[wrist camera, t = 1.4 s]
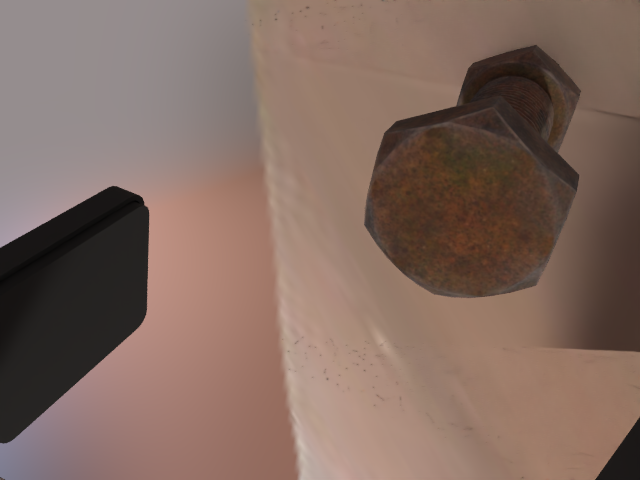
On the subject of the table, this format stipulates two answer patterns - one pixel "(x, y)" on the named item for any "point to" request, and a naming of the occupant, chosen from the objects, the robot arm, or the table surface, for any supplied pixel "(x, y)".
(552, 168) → the bolt
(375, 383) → the table surface
